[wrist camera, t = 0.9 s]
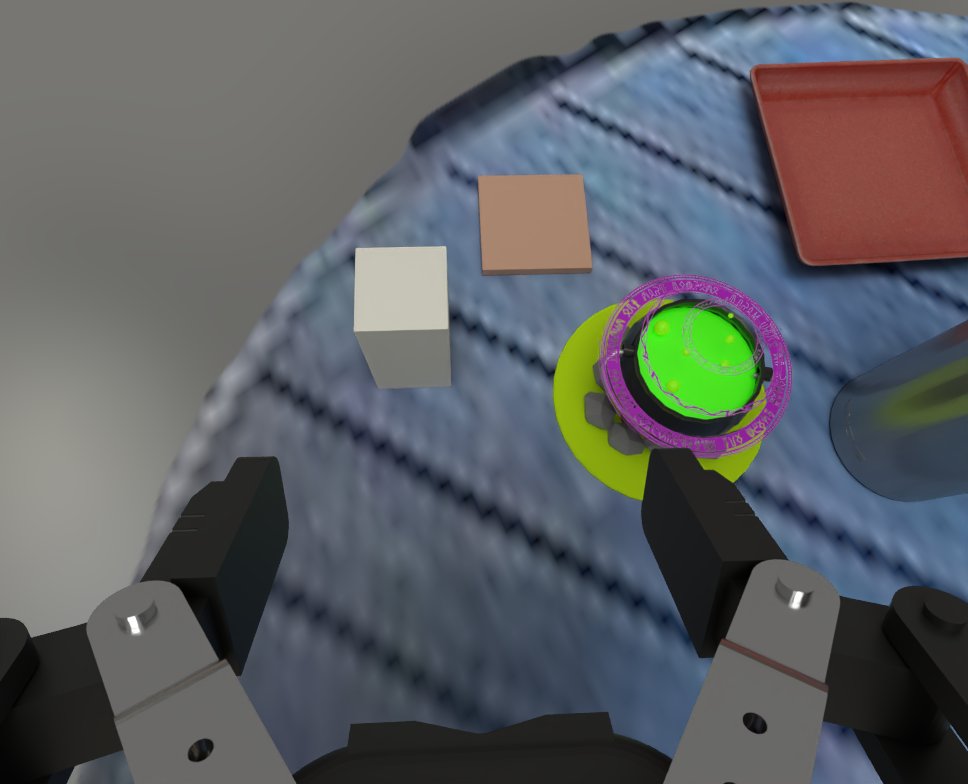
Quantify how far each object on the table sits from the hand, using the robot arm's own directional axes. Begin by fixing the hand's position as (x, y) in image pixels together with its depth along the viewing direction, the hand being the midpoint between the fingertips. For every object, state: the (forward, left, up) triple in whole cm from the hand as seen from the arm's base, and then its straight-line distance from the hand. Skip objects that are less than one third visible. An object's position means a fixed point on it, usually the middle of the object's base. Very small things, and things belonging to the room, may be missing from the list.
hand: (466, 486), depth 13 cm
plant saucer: (-33, -27, -27) cm, 51 cm away
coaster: (-6, -23, -27) cm, 36 cm away
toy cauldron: (-14, -10, -27) cm, 32 cm away
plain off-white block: (+3, -13, -27) cm, 30 cm away
